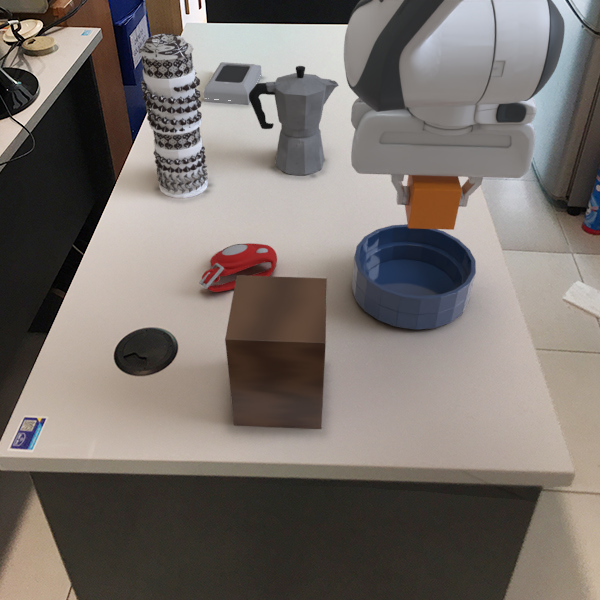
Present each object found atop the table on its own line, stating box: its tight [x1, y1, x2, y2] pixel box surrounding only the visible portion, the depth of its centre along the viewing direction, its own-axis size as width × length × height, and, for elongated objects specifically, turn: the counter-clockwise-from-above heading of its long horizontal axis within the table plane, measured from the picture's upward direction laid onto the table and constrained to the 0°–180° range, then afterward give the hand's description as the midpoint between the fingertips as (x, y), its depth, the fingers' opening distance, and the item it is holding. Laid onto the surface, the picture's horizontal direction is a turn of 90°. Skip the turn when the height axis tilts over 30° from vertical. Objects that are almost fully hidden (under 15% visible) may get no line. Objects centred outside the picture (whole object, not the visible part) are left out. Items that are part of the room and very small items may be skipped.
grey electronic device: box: [203, 61, 262, 106], centre depth 139 cm, size 10×4×15 cm
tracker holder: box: [199, 243, 278, 293], centre depth 91 cm, size 12×4×10 cm
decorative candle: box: [138, 33, 209, 199], centre depth 102 cm, size 9×9×25 cm
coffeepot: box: [249, 65, 340, 176], centre depth 110 cm, size 15×9×18 cm, turn 102°
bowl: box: [351, 223, 477, 330], centre depth 87 cm, size 16×16×6 cm
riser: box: [224, 274, 328, 430], centre depth 71 cm, size 10×10×14 cm
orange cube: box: [404, 175, 462, 231], centre depth 76 cm, size 6×6×6 cm
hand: (431, 203), depth 76 cm, fingers closed on orange cube, 5 cm apart
